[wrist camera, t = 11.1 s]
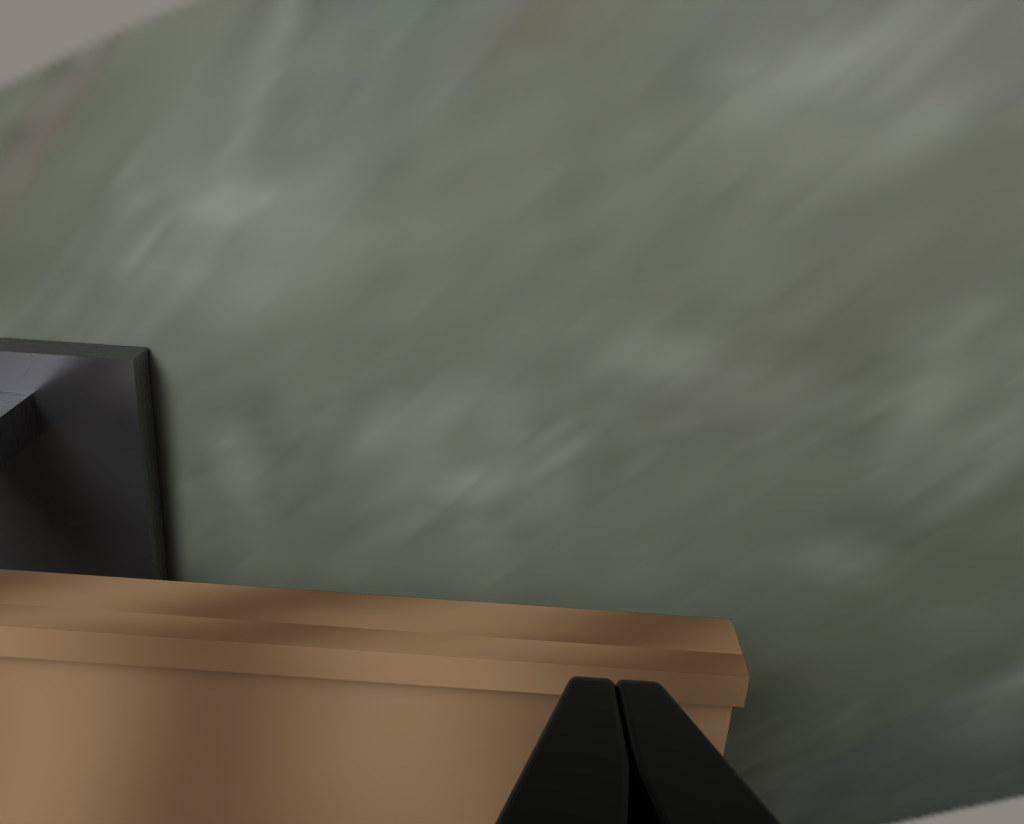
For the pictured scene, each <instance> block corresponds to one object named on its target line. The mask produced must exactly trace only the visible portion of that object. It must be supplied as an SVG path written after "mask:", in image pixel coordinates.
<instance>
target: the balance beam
mask: <svg viewBox="0 0 1024 824" xmlns="http://www.w3.org/2000/svg"><path fill="white" fill-rule="evenodd" d="M574 676H583V677H598V678H608V679H610V680H612V681H613V682H614V684H616V683H617V681H619V680H621V679H628V680H644V681H655V682H658V683H659V684H661V685H662V686H663V687H664V688H665V689H666V690H667V691H668V693H669V694H670V695H671V696H672V697H673V698H674V700H675V701H676V702H677V703H678V704H679V705H680V707H681V708H682V709H683V710H684V711H685V712H686V714H687V715H688V716H689V717H690V718H691V719H692V721H693V722H694V723H695V724H696V725H697V726H698V728H699V729H700V730H701V731H702V732H703V733H704V735H705V736H706V737H707V738H708V739H709V740H710V742H711V743H712V744H713V745H714V746H715V748H716V749H717V750H718V751H719V752H720V753H721V755H722V756H723V755H724V750H725V744H726V739H727V734H728V729H729V723H730V718H731V713H732V708H733V707H744V705H745V700H746V695H747V690H748V685H749V680H750V676H749V673H748V670H747V667H746V664H745V660H744V657H743V654H742V651H741V648H740V645H739V642H738V639H737V635H736V632H735V629H734V626H733V623H732V620H731V619H719V618H705V617H690V616H676V615H661V614H646V613H632V612H617V611H603V610H588V609H574V608H559V607H544V606H530V605H515V604H501V603H486V602H472V601H457V600H442V599H428V598H413V597H399V596H384V595H370V594H355V593H340V592H326V591H311V590H297V589H282V588H268V587H253V586H238V585H224V584H209V583H195V582H180V581H166V580H151V579H136V578H122V577H107V576H93V575H78V574H63V573H49V572H34V571H20V570H5V569H0V824H495V822H496V820H497V818H498V816H499V814H500V812H501V810H502V809H503V807H504V805H505V803H506V801H507V799H508V797H509V795H510V793H511V791H512V789H513V787H514V785H515V783H516V781H517V780H518V778H519V776H520V774H521V772H522V770H523V768H524V766H525V764H526V762H527V760H528V758H529V756H530V754H531V752H532V751H533V749H534V747H535V745H536V743H537V741H538V739H539V737H540V735H541V733H542V731H543V729H544V727H545V725H546V723H547V722H548V720H549V718H550V716H551V714H552V712H553V710H554V708H555V706H556V704H557V702H558V700H559V698H560V696H561V694H562V693H563V691H564V689H565V687H566V685H567V683H568V681H569V680H570V679H571V678H572V677H574Z"/></svg>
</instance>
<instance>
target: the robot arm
mask: <svg viewBox="0 0 1024 824" xmlns="http://www.w3.org/2000/svg"><path fill="white" fill-rule="evenodd" d="M495 824H781V823H780V822H779V821H778V820H777V819H776V818H775V816H774V815H773V814H772V813H771V812H770V811H769V809H768V808H767V807H766V806H765V805H764V804H763V802H762V801H761V800H760V799H759V798H758V797H757V795H756V794H755V793H754V792H753V791H752V790H751V788H750V787H749V786H748V785H747V784H746V783H745V781H744V780H743V779H742V778H741V777H740V776H739V774H738V773H737V772H736V771H735V770H734V769H733V767H732V766H731V765H730V764H729V763H728V762H727V760H726V759H725V758H724V757H723V756H722V755H721V753H720V752H719V751H718V750H717V749H716V748H715V746H714V745H713V744H712V743H711V742H710V740H709V739H708V738H707V737H706V736H705V735H704V733H703V732H702V731H701V730H700V729H699V728H698V726H697V725H696V724H695V723H694V722H693V721H692V719H691V718H690V717H689V716H688V715H687V714H686V712H685V711H684V710H683V709H682V708H681V707H680V705H679V704H678V703H677V702H676V701H675V700H674V698H673V697H672V696H671V695H670V694H669V693H668V691H667V690H666V689H665V688H664V687H663V686H662V685H661V684H659V683H658V682H655V681H644V680H628V679H621V680H619V681H617V683H616V684H614V682H613V681H612V680H610V679H608V678H598V677H583V676H574V677H572V678H571V679H570V680H569V681H568V683H567V685H566V687H565V689H564V691H563V693H562V694H561V696H560V698H559V700H558V702H557V704H556V706H555V708H554V710H553V712H552V714H551V716H550V718H549V720H548V722H547V723H546V725H545V727H544V729H543V731H542V733H541V735H540V737H539V739H538V741H537V743H536V745H535V747H534V749H533V751H532V752H531V754H530V756H529V758H528V760H527V762H526V764H525V766H524V768H523V770H522V772H521V774H520V776H519V778H518V780H517V781H516V783H515V785H514V787H513V789H512V791H511V793H510V795H509V797H508V799H507V801H506V803H505V805H504V807H503V809H502V810H501V812H500V814H499V816H498V818H497V820H496V822H495Z"/></svg>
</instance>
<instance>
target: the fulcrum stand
mask: <svg viewBox="0 0 1024 824" xmlns="http://www.w3.org/2000/svg"><path fill="white" fill-rule="evenodd" d="M0 569H5V570H20V571H34V572H49V573H63V574H78V575H93V576H107V577H122V578H136V579H151V580H166V581H168V574H167V563H166V551H165V540H164V529H163V517H162V506H161V495H160V483H159V472H158V461H157V450H156V438H155V427H154V416H153V404H152V393H151V382H150V370H149V359H148V348H147V347H132V346H117V345H102V344H87V343H72V342H57V341H42V340H27V339H12V338H0Z"/></svg>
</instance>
